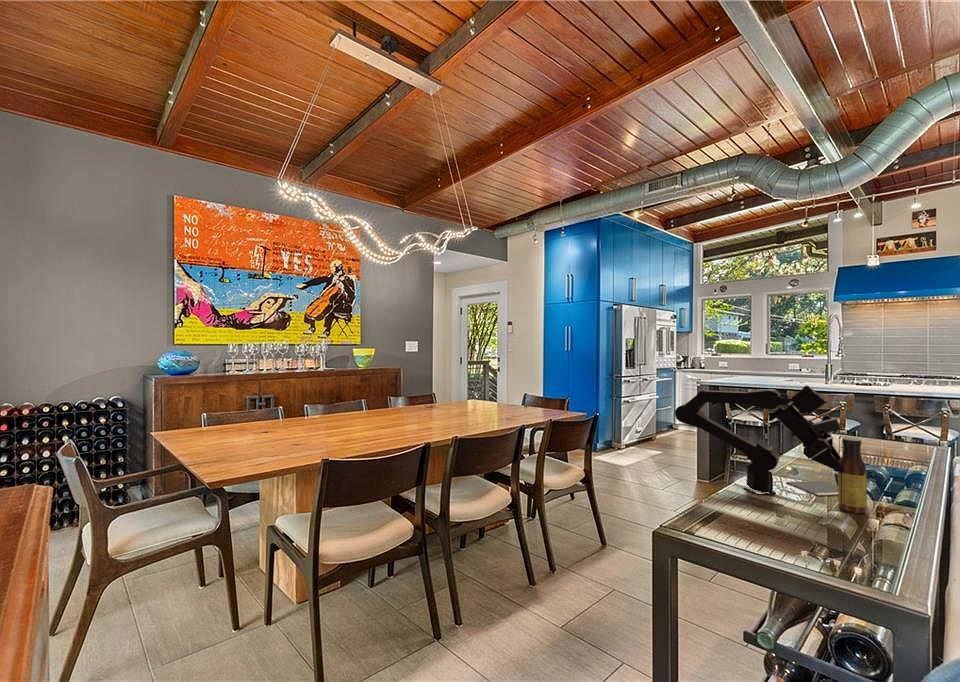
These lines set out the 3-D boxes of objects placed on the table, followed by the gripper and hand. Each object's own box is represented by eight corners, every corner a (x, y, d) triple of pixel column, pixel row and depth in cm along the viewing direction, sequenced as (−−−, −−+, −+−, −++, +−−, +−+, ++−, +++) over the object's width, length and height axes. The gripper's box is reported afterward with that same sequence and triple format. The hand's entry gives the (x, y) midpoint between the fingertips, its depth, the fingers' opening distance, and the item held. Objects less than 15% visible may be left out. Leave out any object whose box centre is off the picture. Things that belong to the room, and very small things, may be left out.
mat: (818, 496, 137) (818, 494, 137) (786, 483, 149) (786, 481, 149) (858, 494, 139) (858, 493, 139) (823, 481, 151) (823, 480, 151)
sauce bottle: (872, 514, 123) (874, 442, 123) (849, 514, 123) (851, 442, 123) (853, 505, 130) (855, 437, 129) (831, 505, 130) (833, 436, 129)
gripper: (818, 411, 124) (871, 458, 117) (822, 403, 138) (869, 445, 131) (783, 435, 129) (832, 482, 122) (791, 425, 143) (834, 467, 136)
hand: (843, 468), depth 128 cm, fingers open, 9 cm apart
